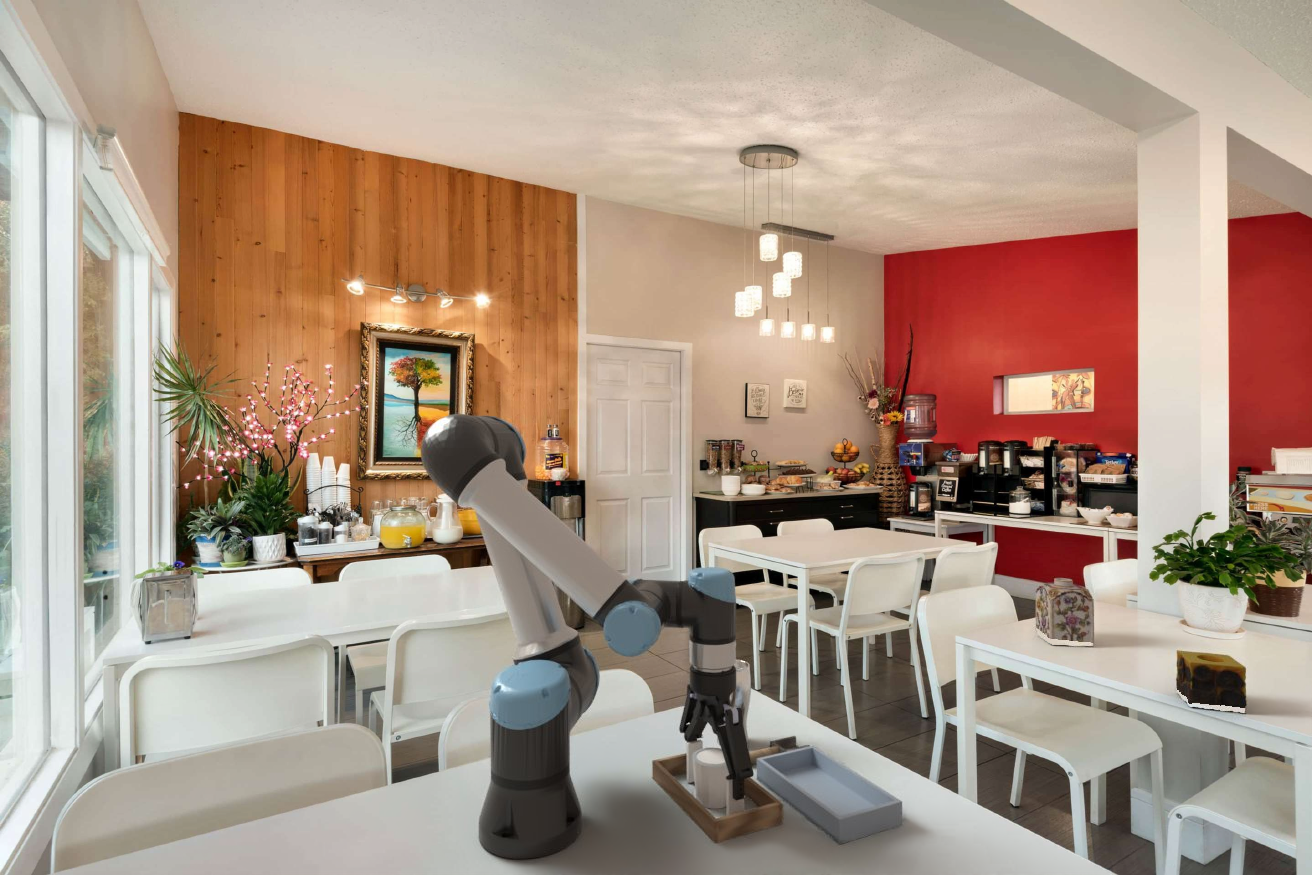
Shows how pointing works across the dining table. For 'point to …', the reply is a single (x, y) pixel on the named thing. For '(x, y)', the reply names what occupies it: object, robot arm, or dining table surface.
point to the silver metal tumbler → (742, 692)
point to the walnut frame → (713, 827)
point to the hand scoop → (776, 748)
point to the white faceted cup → (710, 777)
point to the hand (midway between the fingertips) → (714, 798)
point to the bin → (829, 794)
